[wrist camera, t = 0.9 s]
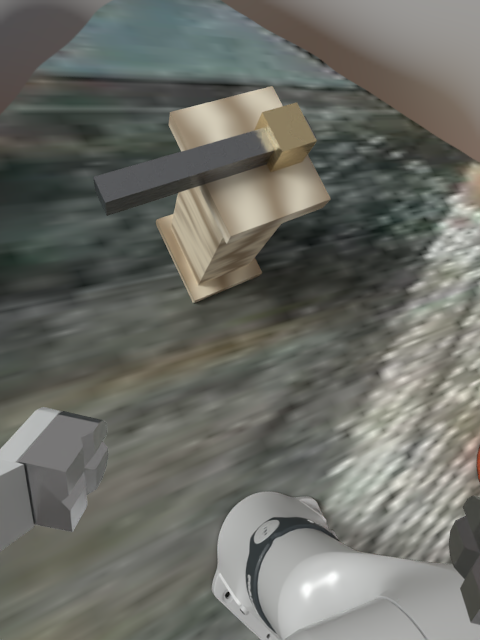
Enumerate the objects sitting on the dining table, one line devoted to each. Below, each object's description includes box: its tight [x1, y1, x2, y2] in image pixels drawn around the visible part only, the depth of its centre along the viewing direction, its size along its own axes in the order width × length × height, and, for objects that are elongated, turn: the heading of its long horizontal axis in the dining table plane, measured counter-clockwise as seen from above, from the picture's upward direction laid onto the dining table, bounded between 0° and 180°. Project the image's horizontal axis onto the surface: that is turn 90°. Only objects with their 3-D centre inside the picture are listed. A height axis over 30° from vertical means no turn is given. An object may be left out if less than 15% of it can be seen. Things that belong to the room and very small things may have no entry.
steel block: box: [93, 103, 317, 216], centre depth 40 cm, size 22×4×4 cm, turn 116°
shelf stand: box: [156, 86, 330, 303], centre depth 55 cm, size 12×14×26 cm
